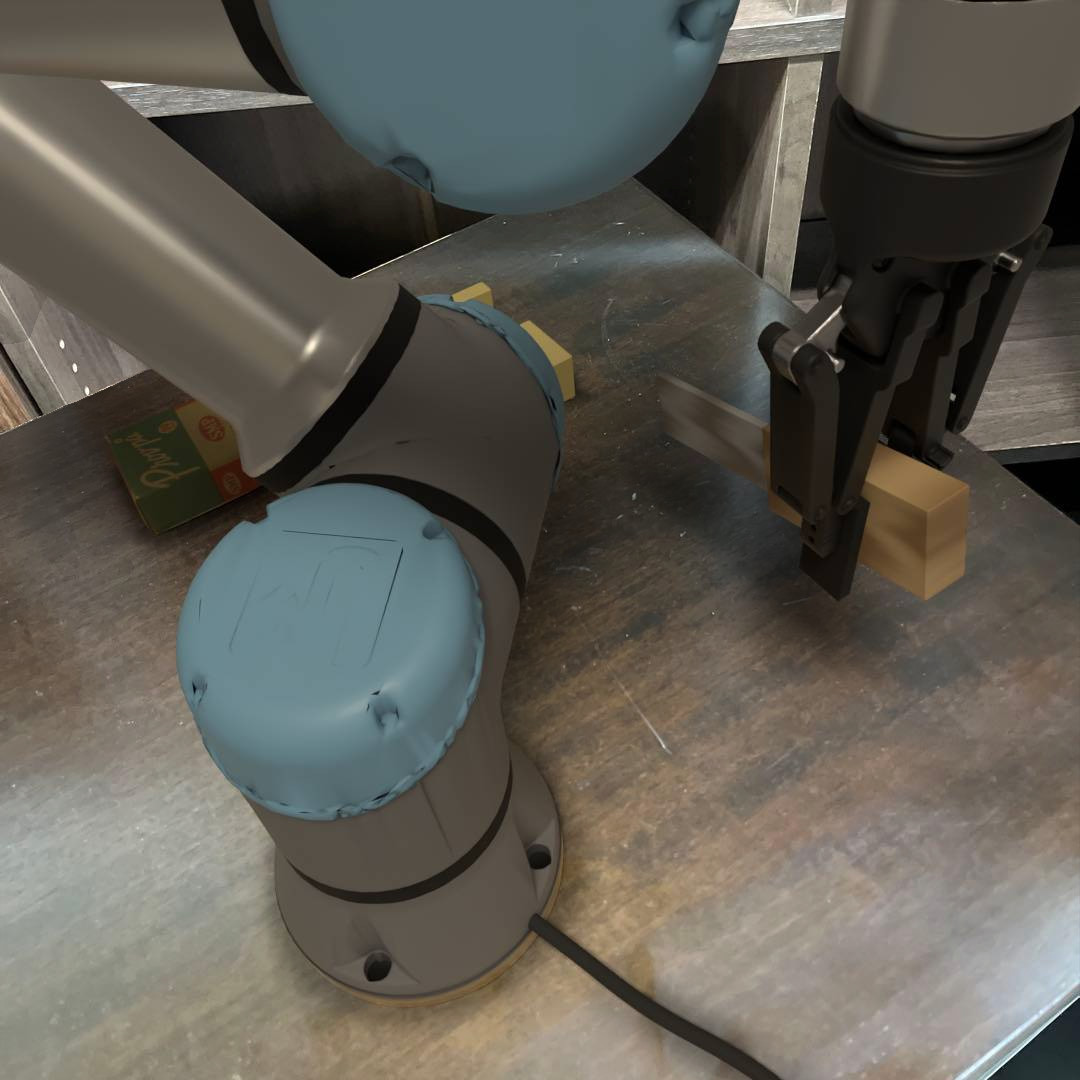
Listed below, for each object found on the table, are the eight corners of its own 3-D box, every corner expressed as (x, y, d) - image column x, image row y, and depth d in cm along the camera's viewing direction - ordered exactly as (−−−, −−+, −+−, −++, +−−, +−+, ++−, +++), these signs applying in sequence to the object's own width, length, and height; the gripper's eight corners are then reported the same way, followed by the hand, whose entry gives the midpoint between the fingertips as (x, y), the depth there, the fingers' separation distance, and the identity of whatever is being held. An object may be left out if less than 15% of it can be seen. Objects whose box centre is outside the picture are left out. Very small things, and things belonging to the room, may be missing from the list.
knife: (965, 574, 44) (970, 484, 41) (925, 602, 43) (928, 511, 40) (684, 422, 59) (673, 347, 56) (651, 440, 58) (638, 366, 55)
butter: (575, 396, 78) (572, 355, 75) (512, 429, 76) (506, 389, 73) (533, 359, 81) (529, 319, 78) (471, 389, 79) (464, 350, 76)
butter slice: (497, 328, 85) (491, 289, 82) (436, 356, 83) (428, 317, 80) (488, 320, 85) (482, 281, 82) (427, 348, 84) (419, 308, 81)
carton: (353, 447, 76) (339, 405, 73) (152, 540, 72) (129, 499, 68) (311, 390, 81) (297, 349, 78) (121, 473, 76) (98, 433, 73)
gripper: (1018, -5, 36) (900, 456, 54) (688, 139, 32) (677, 594, 49) (1212, 57, 32) (1015, 537, 50) (864, 235, 27) (783, 697, 45)
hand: (847, 564), depth 49 cm, fingers closed on knife, 2 cm apart
